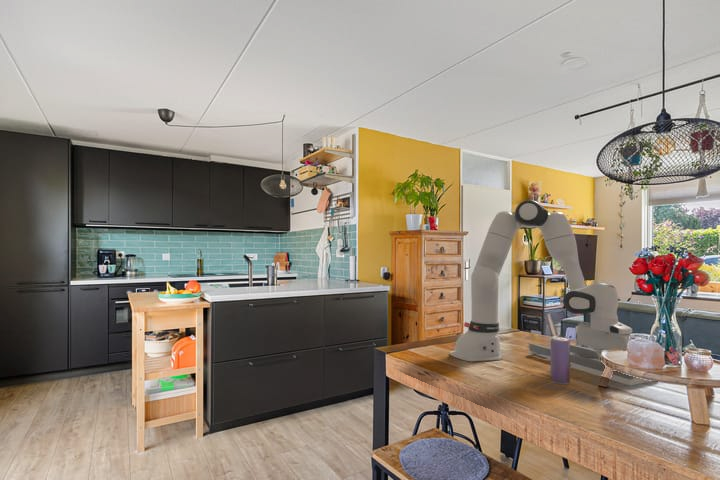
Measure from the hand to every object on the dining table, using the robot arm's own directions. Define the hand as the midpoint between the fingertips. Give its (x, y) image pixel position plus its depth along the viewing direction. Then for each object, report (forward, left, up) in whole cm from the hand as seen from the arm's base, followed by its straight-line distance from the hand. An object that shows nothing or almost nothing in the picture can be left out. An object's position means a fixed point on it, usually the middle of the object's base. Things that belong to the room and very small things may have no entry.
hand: (603, 361), depth 146 cm
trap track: (0, +7, -4) cm, 8 cm away
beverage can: (-27, -2, -4) cm, 27 cm away
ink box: (+19, +20, -4) cm, 28 cm away
